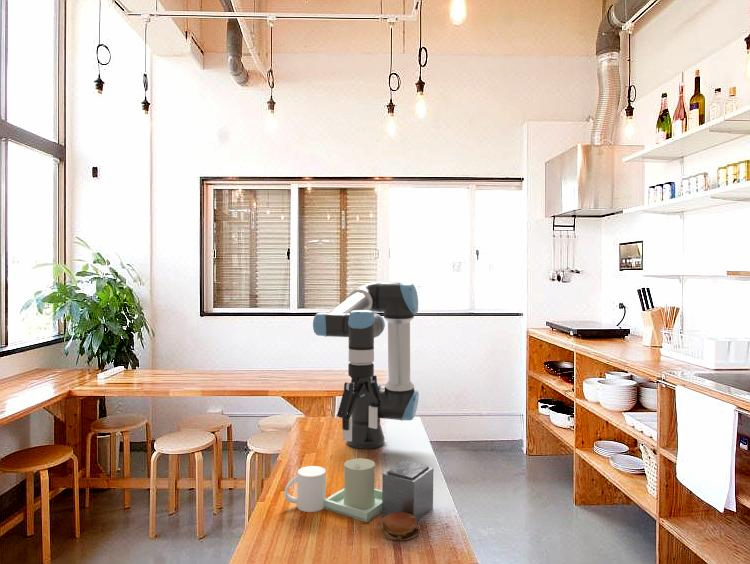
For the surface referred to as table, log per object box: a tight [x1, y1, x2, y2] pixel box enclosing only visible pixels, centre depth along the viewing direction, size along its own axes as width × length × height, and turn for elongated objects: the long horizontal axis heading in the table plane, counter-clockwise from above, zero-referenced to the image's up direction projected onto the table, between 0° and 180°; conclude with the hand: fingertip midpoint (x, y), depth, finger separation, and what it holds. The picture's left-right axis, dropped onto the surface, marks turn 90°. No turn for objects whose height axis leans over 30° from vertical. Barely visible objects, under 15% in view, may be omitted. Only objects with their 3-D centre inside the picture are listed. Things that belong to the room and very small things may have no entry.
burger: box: [381, 512, 420, 541], centre depth 136 cm, size 10×9×5 cm
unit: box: [381, 460, 434, 523], centre depth 148 cm, size 12×10×13 cm
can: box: [343, 457, 376, 510], centre depth 152 cm, size 9×9×12 cm
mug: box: [283, 465, 327, 513], centre depth 151 cm, size 8×10×12 cm
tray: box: [323, 487, 382, 523], centre depth 152 cm, size 15×15×2 cm
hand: (360, 434), depth 154 cm, fingers open, 13 cm apart
